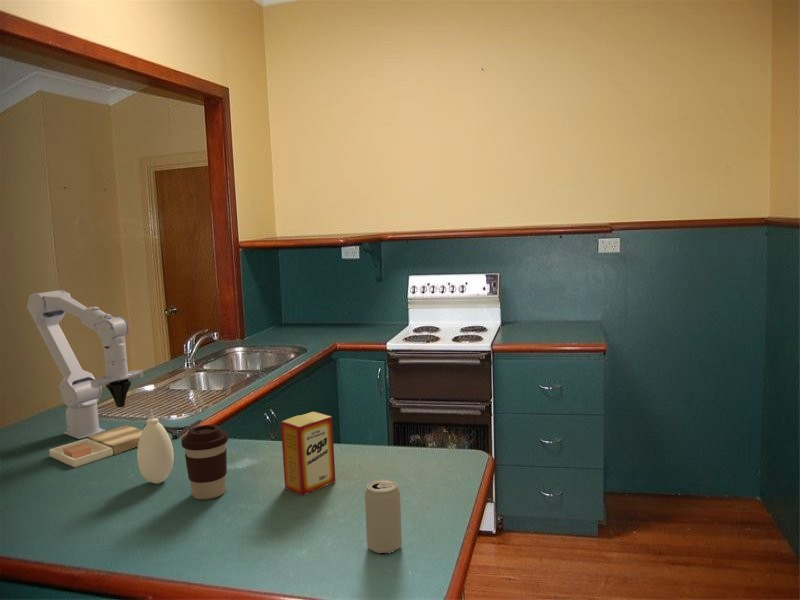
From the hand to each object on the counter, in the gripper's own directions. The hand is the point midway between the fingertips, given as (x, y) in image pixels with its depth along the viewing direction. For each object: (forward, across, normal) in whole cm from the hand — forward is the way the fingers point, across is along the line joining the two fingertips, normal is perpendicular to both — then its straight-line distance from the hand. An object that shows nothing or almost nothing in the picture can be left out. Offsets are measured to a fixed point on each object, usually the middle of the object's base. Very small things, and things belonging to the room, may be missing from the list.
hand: (120, 406), depth 182 cm
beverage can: (+10, -5, -102) cm, 103 cm away
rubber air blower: (+10, -12, -38) cm, 41 cm away
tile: (+7, -15, -4) cm, 17 cm away
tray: (+9, -14, -4) cm, 17 cm away
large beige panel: (+9, -3, -4) cm, 11 cm away
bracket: (+10, +12, -4) cm, 16 cm away
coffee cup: (+10, -9, -54) cm, 56 cm away
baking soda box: (+10, +7, -70) cm, 71 cm away
